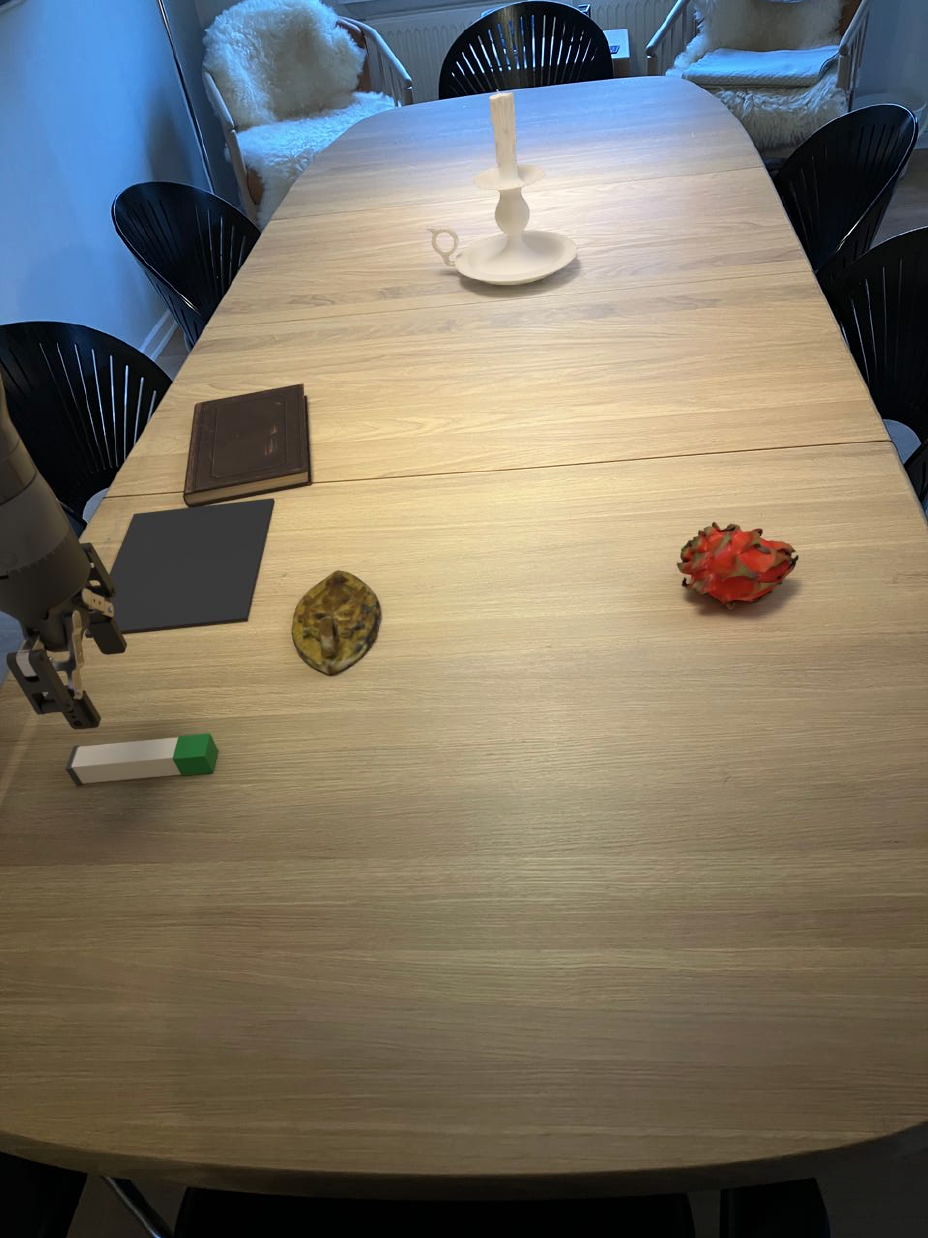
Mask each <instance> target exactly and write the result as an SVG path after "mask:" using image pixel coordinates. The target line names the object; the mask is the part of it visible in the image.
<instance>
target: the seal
mask: <svg viewBox="0 0 928 1238" xmlns="http://www.w3.org/2000/svg"><path fill="white" fill-rule="evenodd" d="M381 613H382V611H381V605H380V601H379V598H378V596H377V594H376V593H375V592H374V590H373V589H372V588H371V587H370V586H369V585H368V584H367V583H366V582H364V581H363V580H362V579H360V578H359V577H358V576H356V575H354V574H353V573H351V572H349V571H346V570H345V571H344V570H339V569H338V570H335V571H333V572H332V573H330V574H329V575H328V576H326V577H325V578H324V579H322V580H321V581H320V582H318V583H317V584H315V585H313V587H311V588H310V589H308V591H307V592H305V594H304V595H303V596H302V597H301V598H300V599H299V601H298V602H297V604H296V606H295V609H294V612H293V615H292V623H291V638H292V643H293V645H294V647H295V650H296V652H297V654H298V655H299V657H300V658H301V659H302V660H303V661H305V663H306V664H307V665H309V666H310V667H312V668H314V669H315V670H318V671H320V672H322V673H324V674H327V675H334V674H337V673H339V672H342V671H344V670H345V669H347V668H348V667H350V666H352V665H354V664H355V663H356V662H357V661H359V660H360V659H361V658H362V657H364V655H365V654H366V652H367V651H368V650H369V649H370V648H371V646H372V645H373V643H374V642H375V639H376V636H377V633H378V625H379V621H380V617H381Z"/></svg>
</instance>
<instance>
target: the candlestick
mask: <svg viewBox="0 0 928 1238" xmlns="http://www.w3.org/2000/svg"><path fill="white" fill-rule="evenodd" d="M496 92H497V93H495V94H492V95H490V96H489V97H488V100H489V101H488V102H489V111H490V124H492V129H493V140H494V152H495V162H496V163H497V166H496V167H492V168H489V169H486V170H483V171H482V172H480V173H478V174H477V175H475V177H474V178H473V182H472V183H473V184H474V186H475V187H477V188H480V189H482V190H488V191H497V192H498V193H499V199H498V202H497V204H496V206H495V210H494V218H495V222H496V225H497V226H498V229H500V231H501V232H502V233H499V234H494V235H490V236H487V237H484V238H481V239H479V240H477V241H474V242H473V243H472V242H471V243H470V244H469V245H467V246H465V247H464V248H462V250H461V251H459V252H458V253H457V255H456V257H455V259H454V261H451V260H450V258H449V257H450V256H452V255H453V254H455V252H457V249H458V247H459V237H458V234H457V232H456V231H455V230H454V229H453V228H451V227H447V226H441V227H435V226H427V227H426V231H428V232H430V233H432V236H431V246H432V248H433V251H435V252H436V253H437V254H438V255H439V256H441V257H442V260H443V262H444V264H445V265H446V266H448V267H455V269H456V270H457V272H459V273H460V274H462V275H464V277H467V278H470V279H474V280H477V281H480V282H482V283H487V284H489V285H490V284H491V285H499V286H516V285H525V284H530V283H533V282H536V281H541V279H544V278H547V277H549V276H551V275H553V274H554V273H556V272H557V271H559V270H561V269H563V268H564V267H566V266H568V265H569V264H570V263H571V262H572V261H573V260H574V259H575V258H576V256H577V254H578V249H579V248H578V245H577V243H576V242H575V241H574V240H573V239H572V238H570V237H569V236H567V235H564V234H561V233H559V232H558V233H557V232H553V231H549V230H548V231H547V230H525V229H526V227H527V226H528V223H529V222H530V221H529V220H530V216H531V211H530V207H529V205H528V203H527V201H526V200H525V198H524V197H523V194H522V189H523V188H524V187H528V186H531V185H533V184H535V183H537V182H539V181H541V180H542V179H543V178H544V177H545V176H546V172H545V169H544V168H542V167H541V166H538V165H533V164H527V163H526V164H525V163H518V161H517V149H516V147H517V146H516V143H517V142H518V140H517V132H516V104H515V93H514V92H500V91H499V89H496ZM442 233H446V234H449V235H450V236H451V237H452V239H453V246H452V247H451V248H450V249H442V248H441V247H439V245H438V244H437V236H438V235H440V234H442Z"/></svg>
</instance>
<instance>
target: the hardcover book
mask: <svg viewBox="0 0 928 1238" xmlns="http://www.w3.org/2000/svg"><path fill="white" fill-rule="evenodd" d="M192 416H193V417H192V423H191V429H190V430H191V431H190V438H189V446H188V454H187V463H186V468H185V469H186V471H185V477H184V484H183V493H182V498H183V499H182V500H183V502H184V504H185V506H187V507H188V508H190V507H199V506H207V505H213V504H216V503H217V504H218V503H222V502H227V501H232V500H238V499H243V498H248V497H254V496H259V495H264V494H268V493H274V492H275V493H276V492H279V491H285V490H290V489H295V488H300V487H306V486H311V485H313V484H312V483H313V482H312V466H311V465H312V463H311V447H310V446H311V445H310V428H309V427H310V426H309V410H308V395H307V394H306V395H305V383H304V382H302V383H297V384H291V385H286V386H280V387H275V388H269V389H265V390H264V389H263V390H259V391H254V392H253V391H252V392H248V393H243V394H237V395H232V396H227V397H221V398H216V399H211V400H205V401H200V402H197V403H195V404H194V408H193V415H192Z"/></svg>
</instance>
